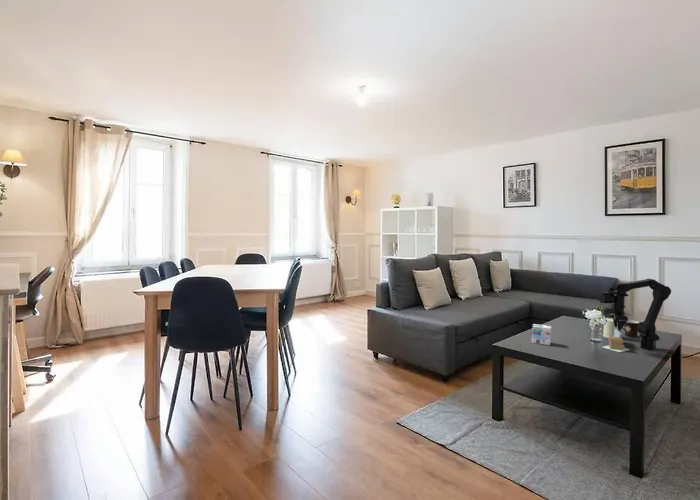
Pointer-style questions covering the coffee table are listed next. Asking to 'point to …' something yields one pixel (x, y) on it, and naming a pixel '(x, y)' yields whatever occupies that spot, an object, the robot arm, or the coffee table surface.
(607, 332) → the can
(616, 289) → the robot arm
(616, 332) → the screen
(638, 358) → the coffee table surface
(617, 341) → the letter cube
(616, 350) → the mat
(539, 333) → the light bulb box
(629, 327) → the coffee mug
